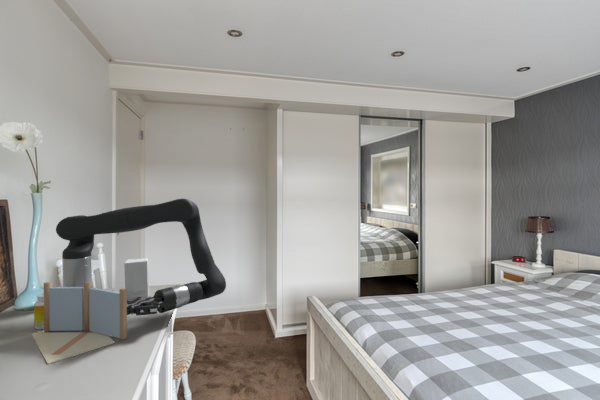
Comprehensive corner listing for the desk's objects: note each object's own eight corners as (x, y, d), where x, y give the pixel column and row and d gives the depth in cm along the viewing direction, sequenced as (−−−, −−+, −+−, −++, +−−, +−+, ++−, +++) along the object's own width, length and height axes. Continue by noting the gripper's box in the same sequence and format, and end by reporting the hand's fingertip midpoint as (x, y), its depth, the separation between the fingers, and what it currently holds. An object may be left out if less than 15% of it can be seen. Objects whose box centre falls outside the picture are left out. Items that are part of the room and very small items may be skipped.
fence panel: (89, 331, 95) (89, 284, 94) (93, 329, 96) (93, 283, 95) (123, 338, 90) (123, 289, 89) (126, 337, 91) (126, 288, 91)
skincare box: (149, 294, 130) (149, 257, 129) (148, 299, 124) (148, 261, 123) (127, 296, 127) (127, 258, 126) (124, 302, 121) (124, 262, 120)
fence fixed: (42, 333, 94) (41, 283, 93) (47, 330, 96) (47, 281, 95) (89, 333, 95) (89, 283, 94) (93, 330, 97) (93, 281, 96)
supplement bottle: (47, 330, 96) (47, 297, 96) (29, 330, 96) (29, 297, 96) (61, 322, 102) (60, 291, 101) (43, 322, 102) (43, 291, 101)
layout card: (31, 334, 93) (31, 333, 93) (90, 319, 104) (90, 318, 104) (47, 364, 78) (47, 362, 78) (114, 342, 89) (114, 341, 89)
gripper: (162, 283, 110) (108, 296, 97) (182, 291, 102) (125, 306, 88) (162, 304, 110) (108, 320, 97) (182, 313, 102) (125, 332, 88)
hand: (116, 313), depth 93 cm, fingers closed
